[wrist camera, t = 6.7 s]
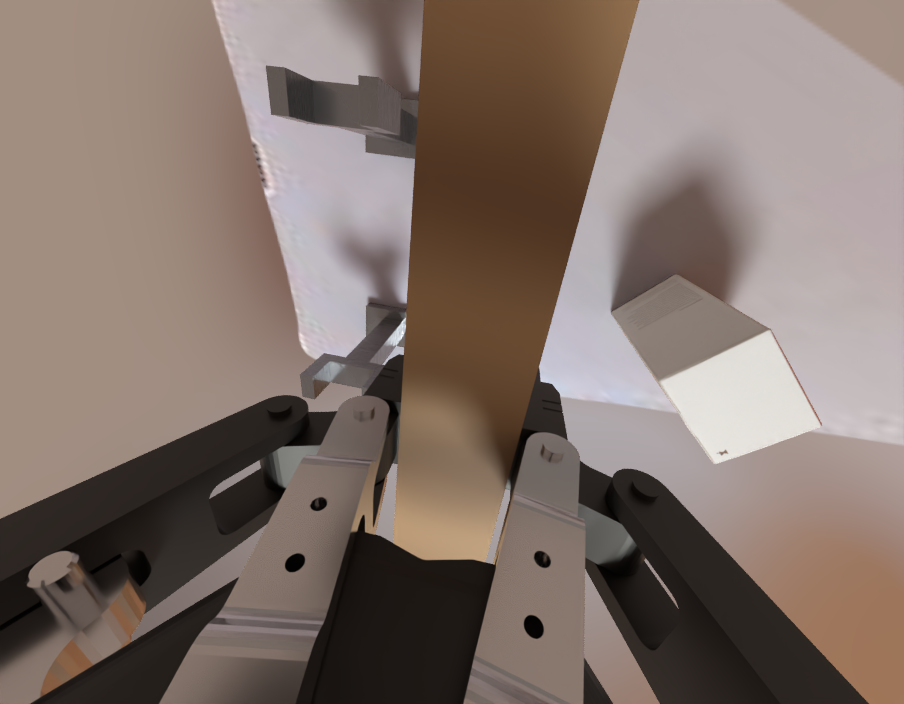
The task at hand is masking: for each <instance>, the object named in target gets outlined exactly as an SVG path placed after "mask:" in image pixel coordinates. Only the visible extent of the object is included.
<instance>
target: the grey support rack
mask: <svg viewBox="0 0 904 704" xmlns="http://www.w3.org/2000/svg"><path fill="white" fill-rule="evenodd" d="M266 71H267V80H268V89H269V98H270V107H271V115H275V116H279V117H283V118H287V119H291V120H295V121H299V122H303V123H307V124H314V125H322V126H330V127H338V128H341V129H345V130H349V131H352V132H356V133H360V134H363V135H366V152H368V153H375V154H382V155H390V156H398V157H405V158H413V159H415V154H416V136H417V119H418V100H409V99H401V93H400V92H399V91H397V90H396V89H394V88H393V87H391V86H390V85H389V84H387V83H386V82H384V81H383V80H381V79H380V78H379V77H369V76H360V75H359V85H350V84H341V83H332V82H323V81H313V80H310V79H308V78H306V77H304V76H302V75H300V74H297V73H295V72H293V71H291V70H289V69H287V68H284V67H274V66H266ZM406 310H407V309H401V308H395V307H390V306H384V305H378V304H373V303H369V304H368V305H367V306H366V337H365V338H364V339H363V340H362V341H361V343H360V344H359V345H358V346H357V347H356V348H355V349H354V350H353V351H352V352H351V353H350V354H349V355H348V356H347V357H346V358H345V357H340V356H335V355H330V354H325V353H324V354H323V355H322V356H321V357H319V358H318V359H317V360H316V361H315V362H314V363H313V364H312V365H310V366H309V367H308V368H307V369H306V370H305V371H304V372H303V373H301V374H300V378H301V387H302V395H303V397H307V398H311V399H315V398H316V397H317V396H318V395H319V394H320V393H321V392H322V391H323V390H324V389H325V388H326V387H327V386H328V385H329V383H330V382H333V383H338V384H342V385H347V386H352V387H357V388H362V396H363V395H364V393H365V392H366V391H367V389H368V388H369V386H370V385H371V384H372V382H373V381H374V380H375V378H376V377H377V376H378V374H379V373H380V371H381V370H382V369H383V367H384V366H385V365H382V364H383V363H384V362H385V360H386V359H387V358H388V356H389V355H390V354H391V352H392V351H393V349H394V348H395V347H396V346H400V347H404V345H405V328H406Z"/></svg>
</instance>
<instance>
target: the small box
mask: <svg viewBox="0 0 904 704" xmlns="http://www.w3.org/2000/svg"><path fill="white" fill-rule="evenodd" d="M611 314H612V316H613V318H614V319H615V321H616V322H617V324H618V325H619V327H620V328H621V330H622V331H623V333H624V334H625V336H626V337H627V339H628V340H629V342H630V343H631V345H632V346H633V348H634V349H635V351H636V352H637V354H638V355H639V357H640V358H641V360H642V361H643V363H644V364H645V365H646V367H647V368H648V370H649V371H650V373H651V374H652V376H653V377H654V379H655V380H656V382H657V383H658V384H659V386H660V387H661V389H662V390H663V392H664V393H665V395H666V396H667V397H668V399H669V400H670V402H671V403H672V405H673V406H674V408H675V409H676V411H677V412H678V413H679V415H680V416H681V418H682V419H683V421H684V423H685V424H686V426H687V427H688V429H689V430H690V432H691V433H692V435H693V436H694V437H695V438H696V440H697V441H698V442H699V444H700V445H701V447H702V448H703V449H704V451H705V452H706V454H707V455H708V456H709V458H710V459H711V461H712V462H713V463H714V464H717V463H720V462H723V461H726V460H729V459H732V458H735V457H738V456H741V455H744V454H747V453H750V452H753V451H756V450H758V449H761V448H764V447H767V446H769V445H772V444H775V443H778V442H781V441H783V440H786V439H789V438H792V437H795V436H797V435H800V434H803V433H806V432H808V431H810V430H813V429H816V428H819V427H821V426H822V423H821V422H820V420H819V418H818V416H817V414H816V412H815V410H814V408H813V407H812V405H811V403H810V401H809V399H808V397H807V396H806V394H805V392H804V390H803V388H802V386H801V384H800V382H799V381H798V379H797V377H796V375H795V373H794V371H793V369H792V367H791V365H790V364H789V362H788V360H787V358H786V356H785V355H784V353H783V351H782V349H781V347H780V345H779V344H778V342H777V340H776V338H775V336H774V334H773V332H772V331H771V329H769V328H767V327H765V326H764V325H762V324H760V323H759V322H757V321H755V320H753V319H752V318H750V317H748V316H747V315H745V314H743V313H742V312H740V311H738V310H737V309H735V308H733V307H732V306H730V305H728V304H726V303H725V302H723V301H721V300H720V299H718V298H716V297H715V296H713V295H711V294H710V293H708V292H706V291H705V290H703V289H701V288H700V287H698V286H696V285H694V284H693V283H691V282H690V281H688V280H686V279H684V278H683V277H681V276H680V275H678V274H675V275H673V276H671V277H670V278H668V279H666V280H665V281H663V282H661V283H660V284H658V285H656V286H655V287H653V288H651V289H650V290H648V291H646V292H644V293H643V294H641V295H639V296H638V297H636V298H634V299H632V300H631V301H629V302H627V303H626V304H624V305H622V306H621V307H619V308H617V309H616V310H614V311H612V312H611Z"/></svg>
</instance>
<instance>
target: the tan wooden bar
mask: <svg viewBox="0 0 904 704" xmlns="http://www.w3.org/2000/svg"><path fill="white" fill-rule="evenodd" d="M638 3H639V0H424V14H423V32H422V49H421V67H420V84H419V101H418V119H417V136H416V154H415V171H414V188H413V206H412V223H411V241H410V258H409V275H408V293H407V310H406V328H405V345H404V363H403V380H402V397H401V415H400V432H399V450H398V467H397V468H398V469H397V485H396V503H395V519H394V537H393V543H394V544H395V545H397V546H399V547H401V548H402V549H404V550H406V551H408V552H409V553H411V554H413V555H415V556H417V557H418V558H421V559H424V560H461V559H474V560H478V561H482V562H485V561H486V557H487V554H488V550H489V546H490V543H491V539H492V536H493V532H494V528H495V524H496V521H497V517H498V514H499V510H500V506H501V503H502V499H503V495H504V491H505V488H506V484H507V481H508V477H509V474H510V470H511V466H512V463H513V459H514V455H515V452H516V448H517V444H518V441H519V437H520V433H521V430H522V426H523V422H524V419H525V415H526V412H527V408H528V404H529V401H530V397H531V393H532V390H533V386H534V382H535V379H536V375H537V371H538V368H539V364H540V361H541V357H542V353H543V350H544V346H545V342H546V339H547V335H548V331H549V328H550V324H551V320H552V317H553V313H554V309H555V306H556V302H557V299H558V295H559V291H560V288H561V284H562V280H563V277H564V273H565V269H566V266H567V262H568V258H569V255H570V251H571V247H572V244H573V240H574V237H575V233H576V229H577V226H578V222H579V218H580V215H581V211H582V207H583V204H584V200H585V196H586V193H587V189H588V185H589V182H590V178H591V175H592V171H593V167H594V164H595V160H596V156H597V153H598V149H599V145H600V142H601V138H602V134H603V131H604V127H605V124H606V120H607V116H608V113H609V109H610V105H611V102H612V98H613V94H614V91H615V87H616V83H617V80H618V76H619V72H620V69H621V65H622V62H623V58H624V54H625V51H626V47H627V43H628V40H629V36H630V32H631V29H632V25H633V21H634V18H635V14H636V10H637V7H638Z"/></svg>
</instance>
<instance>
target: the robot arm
mask: <svg viewBox="0 0 904 704" xmlns="http://www.w3.org/2000/svg"><path fill="white" fill-rule="evenodd" d="M403 363H404V355H400V354H399V355H397V356H395V357H393V358H392V359H390V360H388V362H387V363H386V365H385V366H384V367H383V369H382V370H381V371H380V373H379V374H378V376H377V377H376V378H375V380H374V381H373V382H372V384H371V385H370V386H369V388H368V389H367V391H366V392H365V393H364V395H363V396H357V397H353V398H350V399H348V400H346V401H345V402H344V403H342V404H341V406H340V407H339V409H338V411H334V412H308V405H307V403H306V401H305V400H303V399H301V398H299V397H297V396H290V395H289V396H288V395H283V396H276V397H272V398H269V399H266V400H264V401H261V402H259V403H257V404H255V405H253V406H250V407H248V408H246V409H244V410H241V411H239V412H237V413H235V414H233V415H230V416H228V417H226V418H224V419H221V420H219V421H217V422H215V423H213V424H210V425H208V426H206V427H204V428H201V429H199V430H197V431H195V432H192V433H190V434H188V435H186V436H184V437H181V438H179V439H177V440H175V441H172V442H170V443H168V444H166V445H164V446H161V447H159V448H157V449H155V450H152V451H151V452H148V453H146V454H144V455H142V456H139V457H137V458H135V459H132V460H130V461H128V462H126V463H124V464H121V465H119V466H117V467H115V468H112V469H111V470H108V471H106V472H103V473H101V474H99V475H97V476H95V477H92V478H90V479H88V480H86V481H83V482H81V483H79V484H77V485H75V486H73V487H70V488H68V489H66V490H64V491H61V492H59V493H57V494H55V495H52V496H50V497H48V498H46V499H43V500H41V501H39V502H37V503H34V504H32V505H30V506H28V507H26V508H23V509H21V510H19V511H17V512H15V513H12V514H10V515H8V516H6V517H4V518H1V519H0V704H613V703H612V701H611V700H610V698H609V696H608V695H607V693H606V692H605V690H604V688H603V687H602V685H601V684H600V682H599V681H598V679H597V677H596V676H595V674H594V673H593V671H592V669H591V668H590V666H589V664H588V663H587V661H586V660H585V658H584V610H585V607H584V605H585V604H584V603H585V569H586V571H587V573H588V575H589V576H590V578H591V580H592V582H593V584H594V585H595V587H596V589H597V591H598V592H599V594H600V596H601V598H602V600H603V601H604V603H605V605H606V606H607V609H608V611H609V612H610V614H611V616H612V618H613V620H614V621H615V623H616V625H617V627H618V629H619V630H620V632H621V634H622V635H623V638H624V640H625V641H626V643H627V645H628V647H629V648H630V650H631V652H632V654H633V656H634V657H635V659H636V661H637V663H638V665H639V666H640V668H641V670H642V672H643V674H644V676H645V677H646V679H647V681H648V683H649V685H650V686H651V688H652V690H653V692H654V694H655V695H656V697H657V699H658V701H659V702H660V704H869V703H868V702H866V700H865V699H864V698H863V697H862V696H861V695H860V694H859V693H858V692H857V691H856V690H855V688H854V687H853V686H852V685H851V684H850V683H849V682H848V681H847V680H846V679H845V678H844V677H843V676H842V675H841V674H840V673H839V671H838V670H836V668H835V667H834V666H833V665H832V664H831V663H830V662H829V661H828V660H827V659H826V657H825V656H824V655H823V654H822V653H821V652H820V651H819V650H818V649H817V648H816V647H815V646H814V645H813V644H812V643H811V642H810V641H809V639H808V638H807V637H806V636H805V635H804V634H803V633H802V632H801V631H800V630H799V629H798V628H797V627H796V625H795V624H794V623H793V622H792V621H791V620H790V619H789V618H788V617H787V616H786V615H785V614H784V613H783V612H782V610H781V609H780V608H779V607H777V605H776V604H775V603H774V602H773V601H772V600H771V599H770V598H769V597H768V596H767V594H765V592H764V591H763V590H762V589H761V588H760V587H759V586H758V585H757V584H756V583H755V582H754V581H753V579H752V578H751V577H750V576H749V575H748V574H747V573H746V572H745V571H744V570H743V569H742V568H741V567H740V566H739V565H738V563H737V562H736V561H735V560H734V559H733V558H732V557H731V556H730V555H729V554H728V553H727V552H726V551H725V550H724V549H723V547H722V546H721V545H720V544H719V543H718V542H717V541H716V540H715V539H714V538H713V537H712V536H711V535H710V534H709V532H708V531H707V530H706V529H705V528H704V527H703V526H702V525H701V524H700V523H699V522H698V521H697V520H696V519H695V518H694V516H693V515H692V514H691V513H690V512H689V511H688V510H687V509H686V508H685V507H684V506H683V505H682V504H681V503H680V501H679V500H677V498H676V497H675V496H674V495H673V494H672V493H671V492H670V491H669V490H668V489H667V488H666V487H665V486H664V485H663V484H662V483H661V482H660V481H658V480H657V479H655V478H654V477H652V476H650V475H649V474H646V473H644V472H641V471H638V470H634V469H622V470H619V471H617V472H616V473H615V474H614V476H613V478H612V477H609V476H607V475H605V474H603V473H601V472H599V471H596V470H594V469H592V468H590V467H589V466H587V465H585V464H584V463H583V462H581V461H580V456H579V453H578V451H577V449H576V448H575V447H574V446H573V445H572V444H571V443H570V442H569V441H568V439H567V434H566V428H565V422H564V416H563V413H562V406H561V400H560V394H559V392H558V391H557V390H556V389H555V387H554V386H553V385H552V384H549V383H544V382H540V371H539V368H538V371H537V375H536V379H535V382H534V386H533V390H532V393H531V397H530V401H529V404H528V408H527V412H526V415H525V419H524V422H523V426H522V430H521V433H520V437H519V441H518V444H517V448H516V452H515V455H514V459H513V463H512V466H511V470H510V474H509V477H508V481H507V484H506V488H505V489H508V490H510V501H509V504H508V508H507V512H506V515H505V519H504V523H503V527H502V531H501V535H500V539H499V542H498V546H497V550H496V554H495V558H494V562H493V564H490V563H486V562H482V561H478V560H474V559H461V560H424V559H421V558H418V557H417V556H415V555H413V554H411V553H409V552H408V551H406V550H404V549H402V548H401V547H399V546H397V545H395V544H394V543H392V542H390V541H388V540H386V539H385V538H383V537H381V536H378V535H375V533H376V528H377V524H378V519H379V515H380V510H381V505H382V501H383V496H384V492H385V487H386V482H387V474H388V472H389V470H390V468H391V465H392V463H394V464H398V450H399V432H400V415H401V397H402V380H403ZM258 460H260V465H261V469H259V470H257V471H256V472H254V473H252V474H251V475H249V476H247V477H246V478H244V479H243V480H241V481H239V482H237V483H236V484H234V485H233V486H231V487H229V488H227V489H226V490H224V491H223V492H221V493H219V494H217V495H216V496H214V497H212V498H211V499H209V497H210V494H211V492H212V491H213V489H214V488H215V487H216V486H217V485H218V484H220V483H221V482H222V481H223V480H226V479H227V478H229V477H231V476H233V475H234V474H236V473H238V472H239V471H241V470H243V469H245V468H246V467H248V466H250V465H252V464H253V463H255V462H257V461H258ZM266 524H267V526H266V528H265V530H264V532H263V533H262V535H261V537H260V539H259V541H258V543H257V545H256V547H255V549H254V551H253V552H252V554H251V556H250V558H249V560H248V562H247V564H246V566H245V567H244V569H243V571H242V573H241V575H240V577H238V578H236V579H235V580H233V581H232V582H230V583H228V584H227V585H225V586H223V587H222V588H220V589H218V590H217V591H215V592H213V593H212V594H210V595H208V596H207V597H205V598H203V599H202V600H200V601H198V602H197V603H195V604H194V605H192V606H190V607H189V608H187V609H185V610H184V611H182V612H180V613H179V614H177V615H175V616H174V617H172V618H170V619H169V620H167V621H165V622H164V623H162V624H161V625H159V626H157V627H156V628H154V629H152V630H151V631H149V632H147V633H146V634H144V635H143V636H141V637H139V638H138V639H136V640H134V641H132V642H131V640H132V634H133V632H134V631H135V630H136V628H137V627H138V625H139V624H140V622H141V620H142V617H143V615H144V614H145V613H146V612H148V611H149V610H151V609H152V608H153V607H154V606H156V605H157V604H159V603H160V602H161V601H163V600H164V599H166V598H167V597H168V596H170V595H171V594H172V593H174V592H175V591H176V590H178V589H179V588H180V587H182V586H183V585H185V584H186V583H187V582H189V581H190V580H191V579H193V578H194V577H195V576H197V575H198V574H199V573H201V572H202V571H204V570H205V569H206V568H208V567H209V566H210V565H212V564H213V563H214V562H216V561H217V560H218V559H220V558H221V557H223V556H224V555H225V554H227V553H228V552H229V551H231V550H232V549H234V548H235V547H236V546H238V545H239V544H240V543H242V542H243V541H244V540H246V539H247V538H248V537H250V536H251V535H253V534H254V533H255V532H257V531H258V530H259V529H261V528H262V527H263V526H265V525H266ZM645 558H646V559H647V560H648V561H649V563H650V564H651V565H652V567H653V568H654V570H655V571H656V573H657V574H658V575H659V577H660V578H661V580H662V581H663V582H664V584H665V585H666V586H667V588H668V589H669V591H670V592H671V593H672V595H673V597H674V598H675V600H676V602H677V605H678V608H679V609H678V608H677V607H676V605H675V604H674V602H673V601H672V599H671V598H670V597H669V595H668V594H667V592H666V591H665V589H664V588H663V587H662V585H661V584H660V582H659V581H658V580H657V578H656V577H655V575H654V574H653V573H652V571H651V570H650V568H649V567H648V566H647V564H646V563H645V561H644V560H645Z"/></svg>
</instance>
